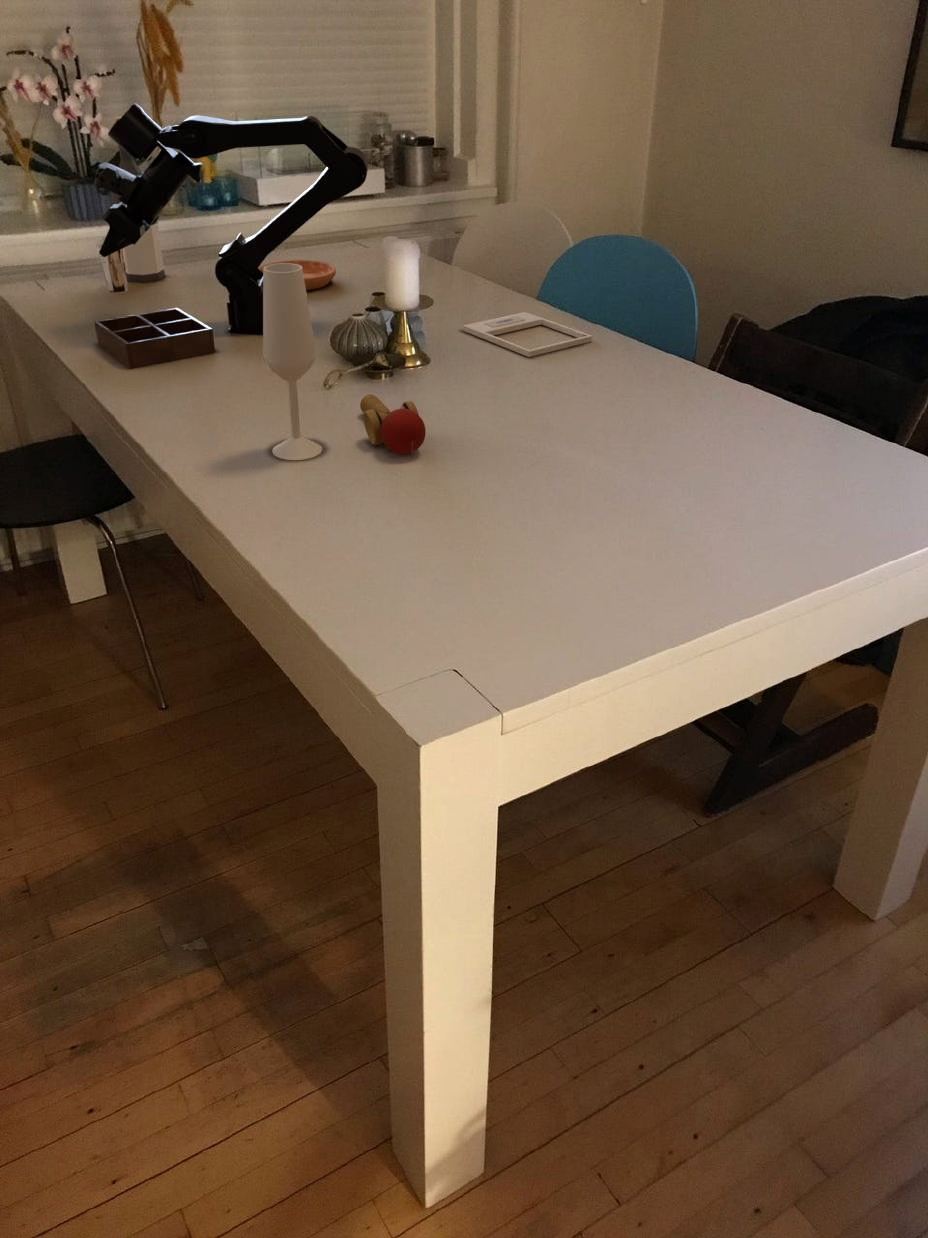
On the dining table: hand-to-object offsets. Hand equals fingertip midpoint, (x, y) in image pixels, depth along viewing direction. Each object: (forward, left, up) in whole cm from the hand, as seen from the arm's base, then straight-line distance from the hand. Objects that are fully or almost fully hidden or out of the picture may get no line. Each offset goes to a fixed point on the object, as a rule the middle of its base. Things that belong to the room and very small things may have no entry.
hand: (105, 251), depth 177 cm
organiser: (-11, +9, -13) cm, 20 cm away
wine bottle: (+10, -34, -13) cm, 38 cm away
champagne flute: (-47, +46, -13) cm, 67 cm away
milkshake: (-1, 0, -7) cm, 7 cm away
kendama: (-58, +39, -13) cm, 71 cm away
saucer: (-22, -36, -13) cm, 44 cm away
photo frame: (-72, -10, -13) cm, 74 cm away
